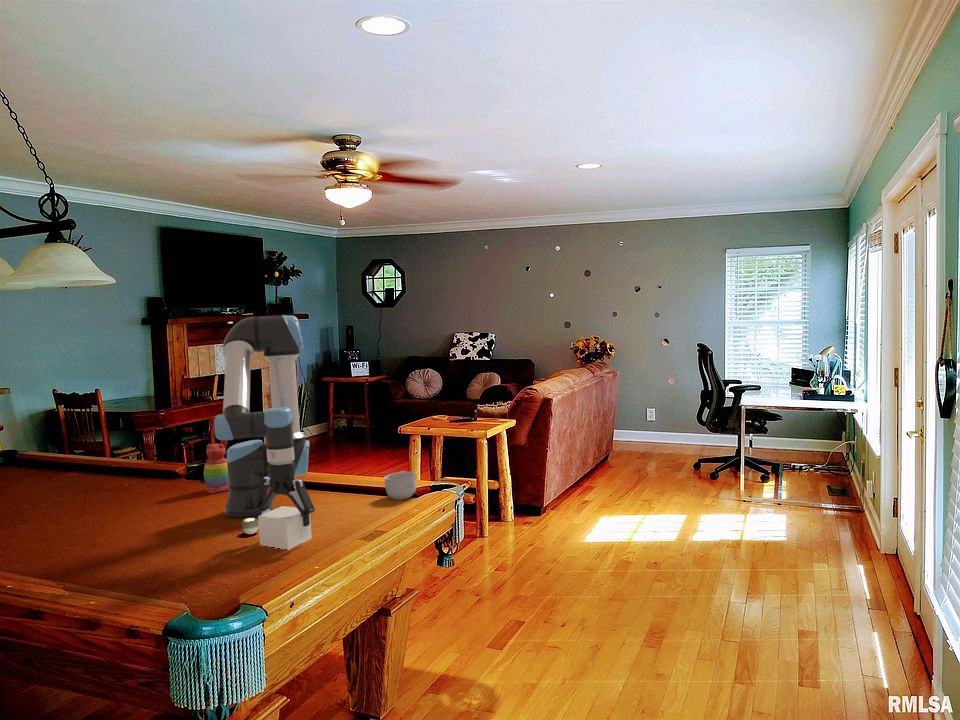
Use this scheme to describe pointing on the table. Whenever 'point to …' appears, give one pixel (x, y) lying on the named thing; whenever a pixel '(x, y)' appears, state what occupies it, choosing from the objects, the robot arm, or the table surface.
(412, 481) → the teacup
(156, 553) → the table surface
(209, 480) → the stacking bear
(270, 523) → the white gift box
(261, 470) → the robot arm
